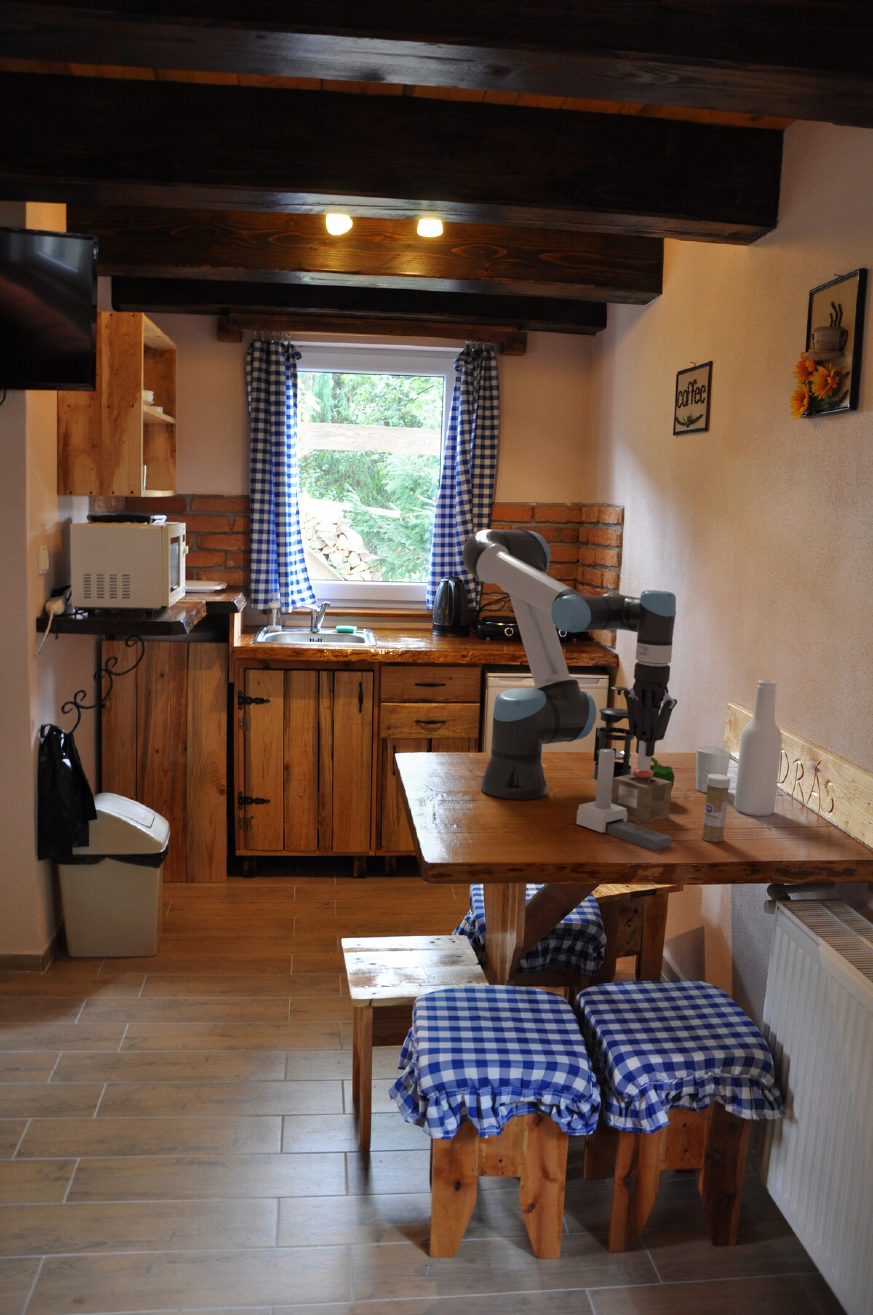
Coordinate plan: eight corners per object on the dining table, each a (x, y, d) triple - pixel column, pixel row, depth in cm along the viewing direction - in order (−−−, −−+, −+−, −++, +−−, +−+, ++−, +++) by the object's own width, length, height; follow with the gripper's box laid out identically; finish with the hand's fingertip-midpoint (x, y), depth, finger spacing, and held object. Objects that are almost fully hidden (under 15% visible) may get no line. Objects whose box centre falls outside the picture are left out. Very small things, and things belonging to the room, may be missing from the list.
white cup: (723, 787, 263) (727, 747, 261) (729, 796, 255) (733, 755, 254) (691, 784, 264) (694, 745, 262) (695, 793, 256) (699, 752, 254)
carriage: (576, 823, 226) (582, 749, 223) (600, 817, 231) (606, 745, 228) (602, 832, 220) (608, 756, 218) (626, 826, 225) (632, 752, 223)
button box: (609, 813, 236) (612, 777, 234) (636, 806, 242) (639, 772, 240) (642, 824, 229) (645, 787, 228) (668, 817, 235) (671, 782, 234)
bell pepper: (679, 801, 249) (683, 759, 247) (660, 807, 243) (664, 764, 241) (648, 792, 254) (651, 751, 253) (629, 798, 248) (632, 756, 247)
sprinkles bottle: (697, 839, 221) (703, 775, 219) (707, 834, 225) (713, 772, 222) (718, 844, 218) (724, 780, 216) (727, 839, 222) (734, 776, 220)
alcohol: (730, 804, 248) (743, 676, 244) (768, 807, 248) (782, 679, 243) (738, 815, 239) (752, 683, 235) (778, 818, 239) (792, 685, 234)
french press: (641, 782, 263) (649, 690, 260) (612, 786, 258) (620, 692, 255) (608, 770, 273) (616, 681, 269) (580, 773, 268) (587, 683, 264)
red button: (625, 805, 235) (628, 769, 234) (638, 802, 238) (641, 767, 237) (641, 810, 232) (645, 774, 231) (654, 807, 235) (657, 772, 234)
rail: (578, 823, 227) (579, 814, 227) (594, 820, 230) (595, 811, 230) (655, 850, 212) (656, 841, 212) (670, 846, 215) (671, 836, 215)
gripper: (617, 659, 233) (609, 765, 236) (666, 669, 223) (656, 779, 227) (639, 657, 237) (630, 760, 241) (688, 666, 228) (678, 774, 231)
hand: (643, 769), depth 234 cm, fingers closed
